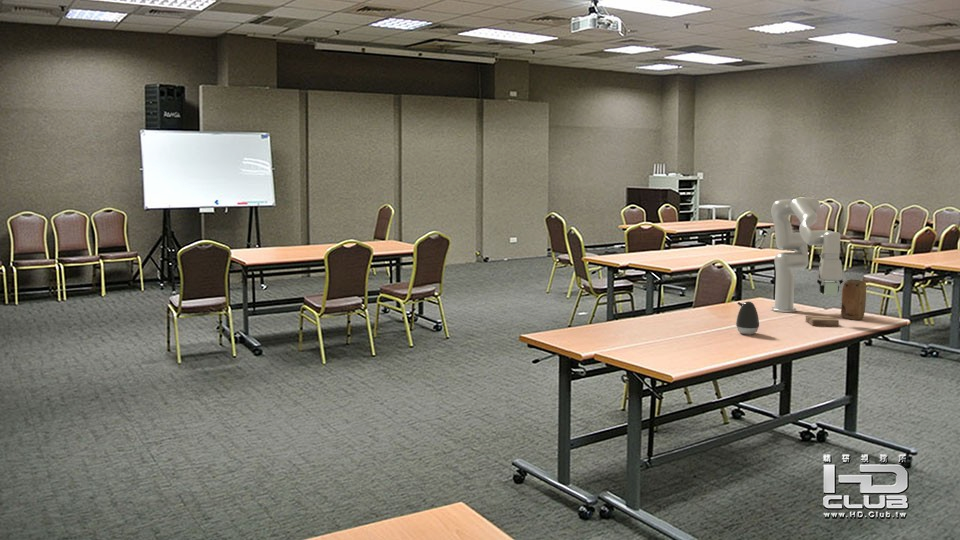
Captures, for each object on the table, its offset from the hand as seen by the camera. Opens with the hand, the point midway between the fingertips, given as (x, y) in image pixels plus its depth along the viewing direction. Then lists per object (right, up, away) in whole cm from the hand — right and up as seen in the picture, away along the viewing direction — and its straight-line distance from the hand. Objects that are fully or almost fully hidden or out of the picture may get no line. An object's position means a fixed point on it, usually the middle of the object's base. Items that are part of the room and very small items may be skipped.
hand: (829, 292), depth 392 cm
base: (-3, -15, +1) cm, 16 cm away
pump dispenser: (-48, -19, -21) cm, 55 cm away
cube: (0, -1, 0) cm, 1 cm away
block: (+18, -14, +15) cm, 27 cm away
